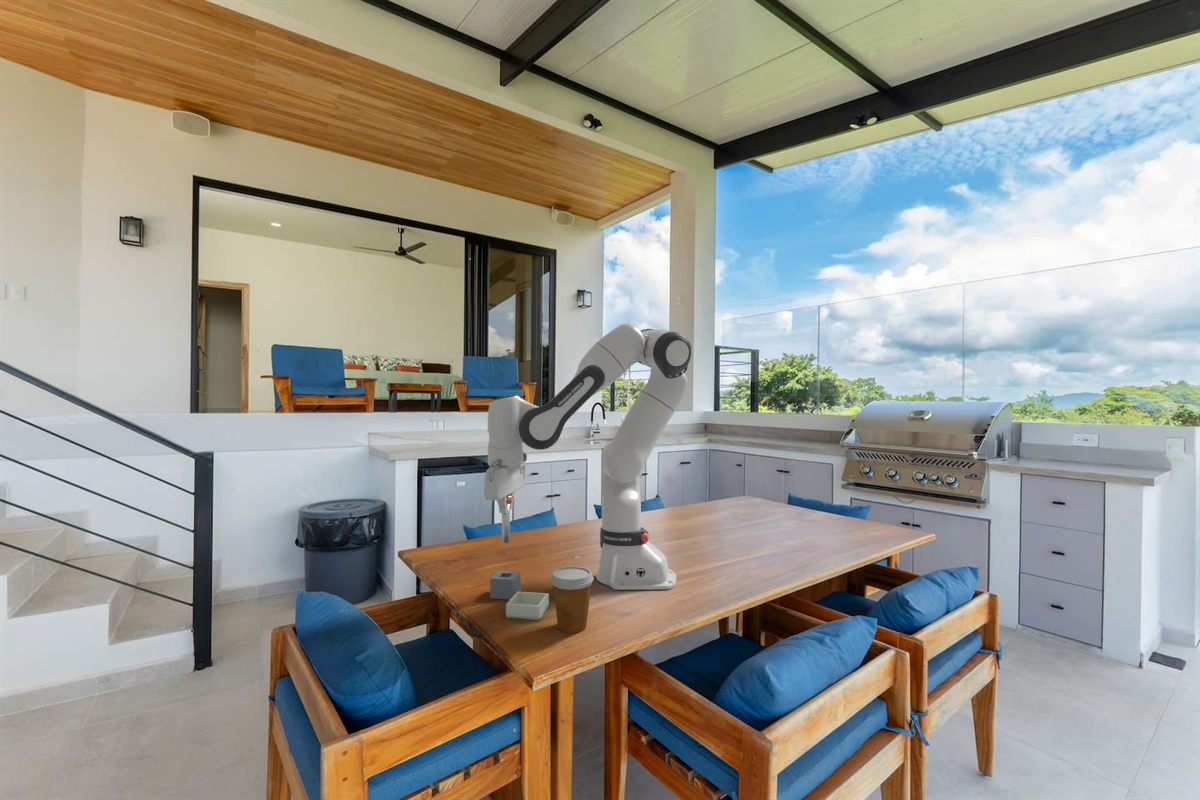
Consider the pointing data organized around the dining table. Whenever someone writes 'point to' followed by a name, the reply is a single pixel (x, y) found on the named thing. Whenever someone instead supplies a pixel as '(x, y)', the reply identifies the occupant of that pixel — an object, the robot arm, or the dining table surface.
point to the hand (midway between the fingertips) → (505, 511)
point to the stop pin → (506, 522)
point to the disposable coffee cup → (572, 597)
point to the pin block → (505, 584)
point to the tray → (527, 605)
